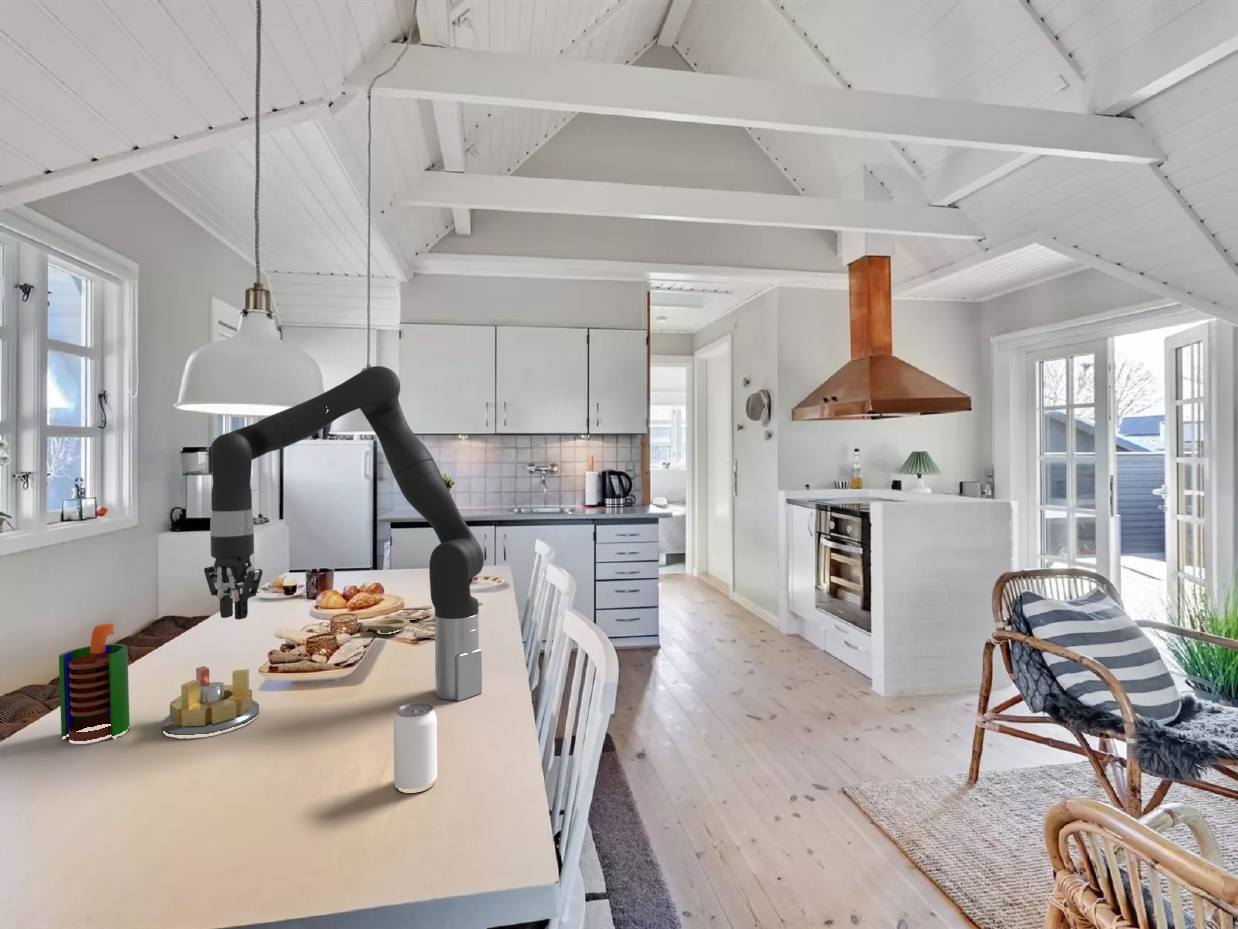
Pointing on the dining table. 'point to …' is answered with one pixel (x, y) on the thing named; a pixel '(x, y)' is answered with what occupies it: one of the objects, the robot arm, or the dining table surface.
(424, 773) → the can
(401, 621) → the tableware set
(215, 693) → the rotating turntable
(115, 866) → the dining table surface
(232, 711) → the wooden blocks on tray
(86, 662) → the motor
